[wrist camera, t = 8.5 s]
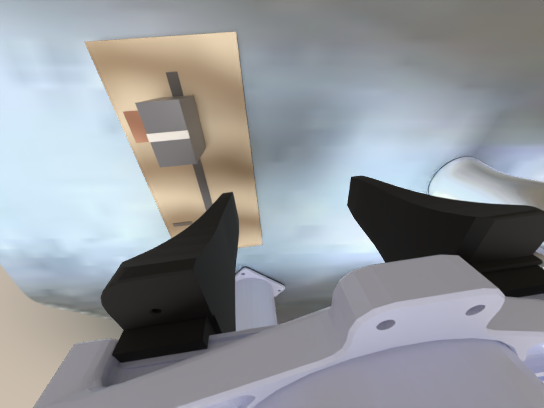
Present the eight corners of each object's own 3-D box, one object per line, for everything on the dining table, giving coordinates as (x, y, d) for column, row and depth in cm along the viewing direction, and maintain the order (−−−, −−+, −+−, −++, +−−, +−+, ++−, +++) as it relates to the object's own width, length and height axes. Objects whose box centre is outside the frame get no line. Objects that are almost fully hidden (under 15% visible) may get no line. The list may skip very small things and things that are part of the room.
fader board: (261, 236, 26) (262, 245, 24) (182, 246, 25) (178, 256, 24) (236, 35, 15) (235, 31, 14) (98, 45, 15) (83, 41, 13)
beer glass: (465, 140, 22) (769, 225, 9) (492, 170, 24) (759, 269, 12) (413, 190, 25) (592, 307, 12) (442, 212, 27) (615, 329, 14)
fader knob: (206, 147, 17) (196, 164, 14) (176, 150, 17) (159, 168, 14) (193, 94, 15) (178, 99, 12) (159, 97, 15) (133, 103, 12)
